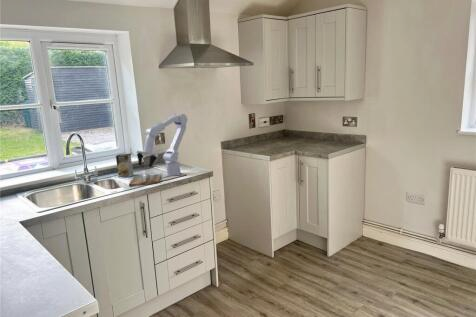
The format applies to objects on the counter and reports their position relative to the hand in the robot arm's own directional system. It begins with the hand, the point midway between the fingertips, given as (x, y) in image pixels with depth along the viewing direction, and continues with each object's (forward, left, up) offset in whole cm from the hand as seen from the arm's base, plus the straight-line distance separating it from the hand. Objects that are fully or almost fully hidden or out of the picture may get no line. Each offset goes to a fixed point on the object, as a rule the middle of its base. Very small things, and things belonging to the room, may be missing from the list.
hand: (144, 165), depth 234 cm
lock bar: (+1, 0, -9) cm, 9 cm away
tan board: (+1, -4, -11) cm, 12 cm away
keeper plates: (+1, -7, -10) cm, 13 cm away
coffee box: (+18, -25, -11) cm, 33 cm away
